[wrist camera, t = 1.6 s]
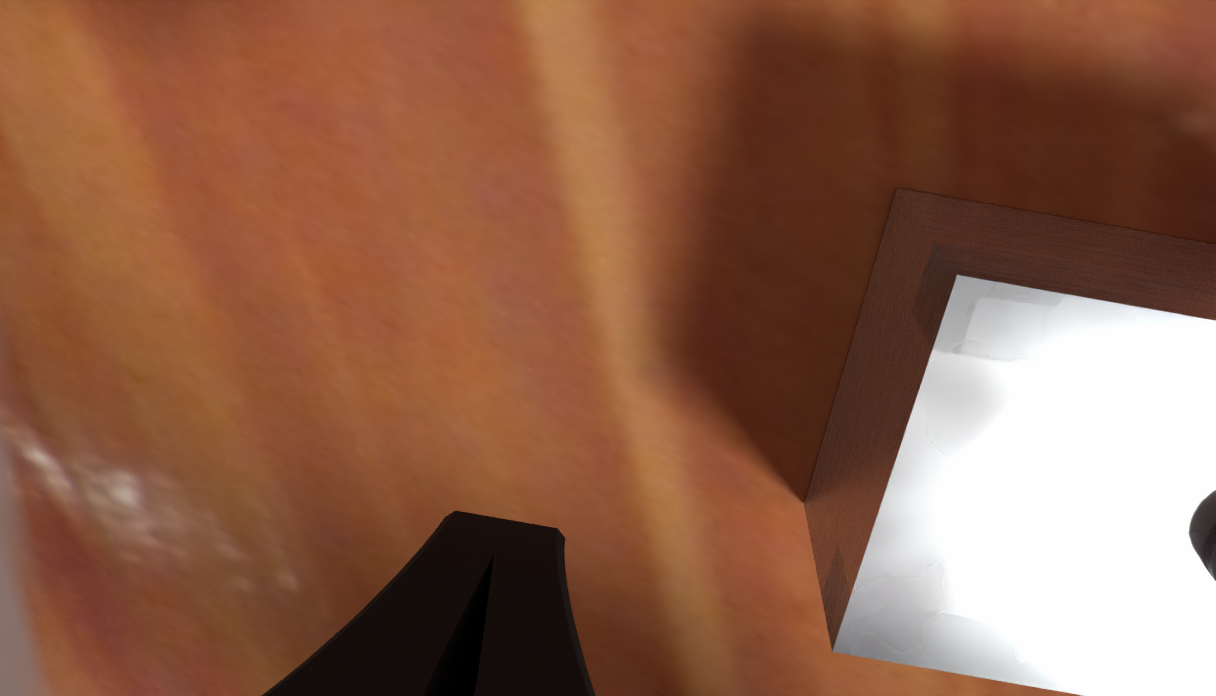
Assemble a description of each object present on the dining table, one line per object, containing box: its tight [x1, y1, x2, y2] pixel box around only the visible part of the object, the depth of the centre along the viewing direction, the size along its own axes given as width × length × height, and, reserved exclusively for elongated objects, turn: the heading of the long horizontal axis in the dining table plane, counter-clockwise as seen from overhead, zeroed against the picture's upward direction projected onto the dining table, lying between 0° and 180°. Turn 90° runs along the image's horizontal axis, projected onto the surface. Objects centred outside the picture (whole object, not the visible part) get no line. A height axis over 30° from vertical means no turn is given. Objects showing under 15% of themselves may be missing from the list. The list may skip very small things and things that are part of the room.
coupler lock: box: [804, 188, 1216, 696], centre depth 18 cm, size 8×7×5 cm
